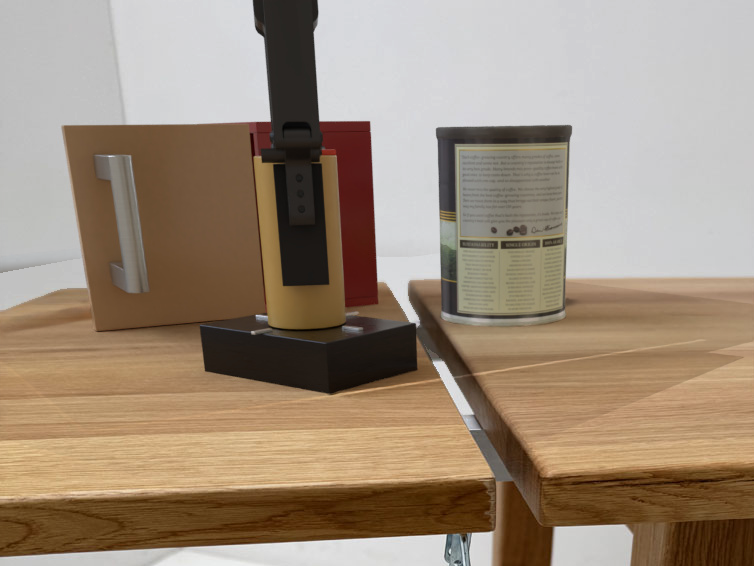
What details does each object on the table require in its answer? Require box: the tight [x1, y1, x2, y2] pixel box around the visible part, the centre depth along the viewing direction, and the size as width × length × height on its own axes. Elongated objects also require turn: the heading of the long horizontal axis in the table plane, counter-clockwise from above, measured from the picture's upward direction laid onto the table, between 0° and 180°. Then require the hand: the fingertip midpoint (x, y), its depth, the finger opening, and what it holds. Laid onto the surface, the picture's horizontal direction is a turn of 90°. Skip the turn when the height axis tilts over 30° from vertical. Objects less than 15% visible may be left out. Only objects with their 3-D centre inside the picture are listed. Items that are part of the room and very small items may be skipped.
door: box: [60, 123, 266, 332], centre depth 76 cm, size 7×14×14 cm, turn 118°
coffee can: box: [435, 124, 573, 328], centre depth 80 cm, size 10×10×14 cm
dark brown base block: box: [199, 310, 418, 396], centre depth 64 cm, size 11×9×3 cm
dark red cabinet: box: [208, 120, 379, 313], centre depth 89 cm, size 10×14×15 cm
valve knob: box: [253, 149, 347, 330], centre depth 61 cm, size 5×5×10 cm
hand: (304, 277), depth 62 cm, fingers closed on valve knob, 5 cm apart
